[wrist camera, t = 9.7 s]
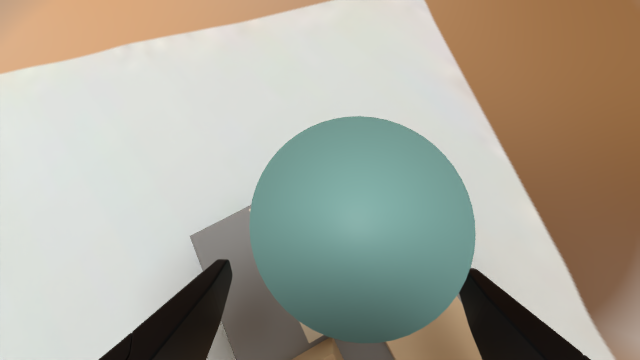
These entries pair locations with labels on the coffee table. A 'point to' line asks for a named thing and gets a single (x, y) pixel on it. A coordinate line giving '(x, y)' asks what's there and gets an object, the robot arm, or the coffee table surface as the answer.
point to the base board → (296, 338)
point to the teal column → (362, 229)
